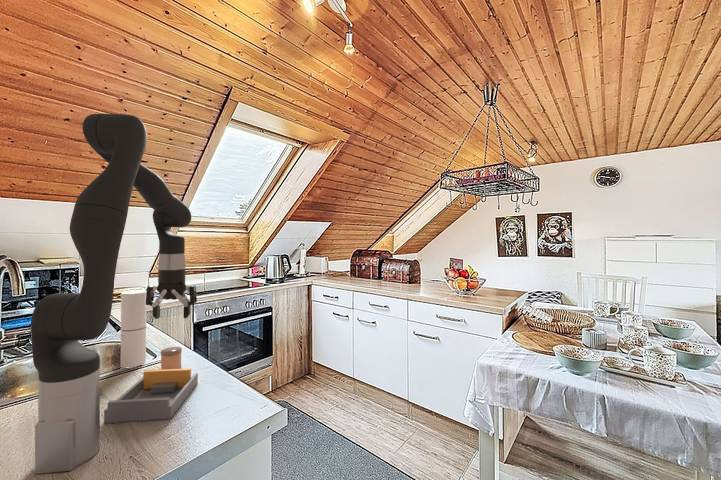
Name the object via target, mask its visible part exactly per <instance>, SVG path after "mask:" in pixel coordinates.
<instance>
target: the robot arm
mask: <svg viewBox="0 0 721 480" xmlns="http://www.w3.org/2000/svg"><path fill="white" fill-rule="evenodd" d="M82 133H83V136H84V139H85V141H86V143H88V145H89V147H91V149H93V151H95V152H96V153H97V154H98V155H99V156H100V157H101V158H102V159H103V160H104V161H106V162H107V164H108V165H106V167H104V168H105V169H104V170H103V171H102V172H101V173H100V174H99V175H97V177H95V179H93V180H92V181H91V182H90V183H89V184H88V185H87V186H86V187H85V188H84V189H83V190H82V191H81V192H80V194H79V196H77V198H76V200H75V203H74V206H73V210H72V211H73V212H72V215H71V217H70V222H69V233H70V236H71V240H72V242H73V244H74V247H75V248H76V251H77V252H78V254H79V257H80V259H81V263H82V267H83V277H82V285H81V289H80V293H78V292H76V293H75V292H61V293H60V292H59V293H57V292H55V293H51V294H49V295H46V296H44V297H43V298H41V299H40V300H39V301H38V303H37V304H36V305H35V307H34V309H33V311H32V315H31V321H30V336H31V350H32V363H33V365H34V367H35V369H36V372H37V373H38V422H36V423H35V425H34V474H38V475H39V474H48V473H60V472H69V471H72V470H73V469H74V468H76V467H77V466H79V465H81V464H83V463H85V462H87V461H88V460H90V459H91V458H92V457H94V456H95V455H96V454H97V453H98V452H99V449H100V447H101V446H100V445H101V444H100V442H101V440H100V439H101V438H100V436H101V434H100V433H101V432H100V431H101V430H100V429H101V428H100V427H101V425H100V424H101V423H100V420H101V419H100V418H101V417H100V416H101V415H100V414H101V413H100V411H101V410H100V409H101V408H100V403H101V402H100V401H101V400H100V399H101V398H100V397H101V394H100V390H101V387H100V385H101V379H100V378H101V371H100V369H101V357H100V355H99V353H98V352H96V351H95V350H93V349H89V348H88V347H85V346H84V345H83V344H81V342H79V341H90V340H94V339H97V338H99V337H100V336H101V335H102V334H103V333H104V332H105V330H106V328H107V327H108V325H109V322H110V320H111V319H110V318H111V314H112V309H113V308H112V307H113V300H114V290H115V289H114V287H115V279H116V271H117V265H118V259H119V253H120V249H121V245H122V239H123V236H124V231H125V227H126V223H127V217H128V213H129V207H130V202H131V197H132V192H133V188H134V189H135V190H136V191H137V192H138V193H139V195H140V196H141V197H142V199H143V200H144V201H145V203H146V204H147V205H148V206H149V207H150V208H151V209H153V212H152V221H153V224H154V228H155V230H156V234H157V237H158V241H159V242H158V243H159V244H158V245H159V247H158V248H159V250H158V261H157V273H158V275H157V276H158V277H157V282H158V284H157V285H153V284H152V285H148V286H146V306H149V307H152V317H153V318H154V320H156V319H157V320H158V319H159V318H161V306H160V305H161V303H162V302H163V301H164V300H166V301H167V300H172V301H173V300H174V301H175V300H178V301H179V302H180V303H181V304H182V305H183V314H182V315H183V319H187V318H189V316H190V315H191V306H192V305H194V304H197V302H198V300H197V299H198V298H197V286H196V285H194V284H192V285H186V268H187V263H186V256H185V255H186V254H185V251H186V250H185V249H186V247H185V246H186V245H185V244H186V243H185V242H186V241H185V240H186V239H185V237H184V236H182V235H179V234H175V233H173V231H172V230H171V228H185V227H188V226H189V224H190V223H191V221H192V212H191V210H190V209H189V207H188V206H187V205H186V204H185V203H184V202H183V201H182V200H181V199H179V198H178V197H177V196H176V195H174V194H173V193H172V191H171V190H170V188H169V187H168V185H167V184H166V182H165V181H164V180H163V178H162V177H160V176H159V175H158V173H156V172H155V171H153V170H151V169H149V168H148V167H147V166H145V165H144V164H143V163H141V162H142V159H143V158H144V153H145V151H146V147H147V142H148V141H147V139H148V135H147V129H146V125H145V124H144V122H143V120H141V119H140V117H138V116H135V115H133V114H125V113H102V112H99V113H92V114H89V115H87V116H86V117H84V119H83V122H82ZM186 291H187V293H188V294H189V298H188V296H187V295H186V294H185V292H186ZM156 292H158V293H159V295H158V296H157V297H156V299H155V298H154V297H155V293H156ZM154 299H155V300H154Z"/></svg>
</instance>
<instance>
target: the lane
mask: <svg viewBox="0 0 721 480" xmlns="http://www.w3.org/2000/svg"><path fill="white" fill-rule="evenodd" d="M198 378H199V375H198V373H197V372H196V373H194V374H193V375H191V379H190V380H189V381H188V382H187V384H186V385H185V386H184V387H177V389H176V390H175V391H174V392H167V393H150V389H143V376H142V377H141V378H140V379H139V380H137V381H136V383H134V384H133V385H131V386H130V387H129V389H127V390H125V392H124V393H122V394H121V395H120V396H119V397H118V398H117V399H114V400H109V401H108V402H107V407H106V408H105V409H104V410H103V424H104V425H105V424H120V423H121V424H122V423H132V422H133V423H136V422H152V421H153V420H154V421H165V420H166V421H167V420H172V418H174V416H175V415H176V413H177V412H178V410H179V409H180V408H181V407H182V405H183V404H184V402H185V401H186V400H187V398H188V397H189V396H190V395H191V393H192V392H193V390H194V389H195V388H196V387H197V385H198V383H199V382H198V381H199V380H198Z"/></svg>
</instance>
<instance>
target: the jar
mask: <svg viewBox="0 0 721 480" xmlns="http://www.w3.org/2000/svg"><path fill="white" fill-rule="evenodd" d="M182 349H183V347H181V346H171V347H170V346H169V347H166V348H163V349H162V350H161V351H160V370H162V369H182Z"/></svg>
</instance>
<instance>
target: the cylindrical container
mask: <svg viewBox="0 0 721 480" xmlns="http://www.w3.org/2000/svg"><path fill="white" fill-rule="evenodd" d="M146 293H147V290H146V289H145V290H144V289H140V290H139V289H138V290H137V289H136V290H135V289H134V290H133V289H132V290H126V291H122V292H121V293H120V368H122V369H125V368H126V367H135V368H137V367H136V366H139V365H142V364H144V363H145V362H146V363H147V305H146ZM146 363H145V364H146ZM145 364H144V365H145ZM142 366H143V365H142ZM139 367H140V366H139Z"/></svg>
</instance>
